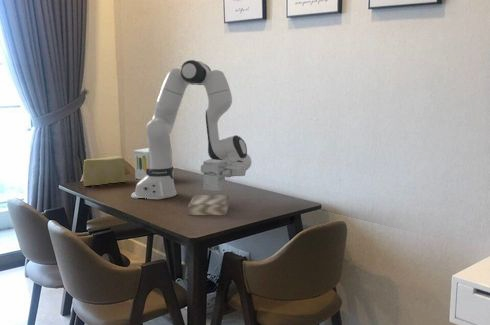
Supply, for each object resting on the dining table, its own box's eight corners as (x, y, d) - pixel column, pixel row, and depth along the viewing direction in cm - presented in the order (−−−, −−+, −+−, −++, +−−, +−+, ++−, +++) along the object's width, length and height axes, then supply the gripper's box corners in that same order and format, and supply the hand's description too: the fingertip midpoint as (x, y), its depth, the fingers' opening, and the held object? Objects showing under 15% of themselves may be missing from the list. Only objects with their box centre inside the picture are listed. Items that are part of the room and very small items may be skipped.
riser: (188, 215, 217) (188, 203, 216) (194, 205, 233) (193, 194, 232) (225, 214, 216) (225, 203, 215) (228, 205, 232) (228, 194, 231)
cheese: (87, 188, 273) (85, 161, 271) (81, 185, 281) (79, 159, 278) (126, 183, 286) (124, 156, 283) (119, 180, 294) (117, 154, 291)
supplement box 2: (202, 189, 222) (202, 161, 220) (210, 186, 229) (210, 158, 227) (217, 191, 219) (217, 162, 217) (225, 187, 226) (225, 159, 224)
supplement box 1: (134, 179, 294) (133, 150, 291) (152, 176, 304) (151, 147, 301) (149, 182, 285) (147, 151, 283) (167, 178, 295) (166, 149, 292)
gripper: (209, 159, 238) (193, 163, 226) (248, 162, 229) (232, 167, 217) (210, 172, 239) (193, 177, 227) (248, 175, 230) (233, 181, 218)
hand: (213, 172), depth 222 cm, fingers closed on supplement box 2, 7 cm apart
